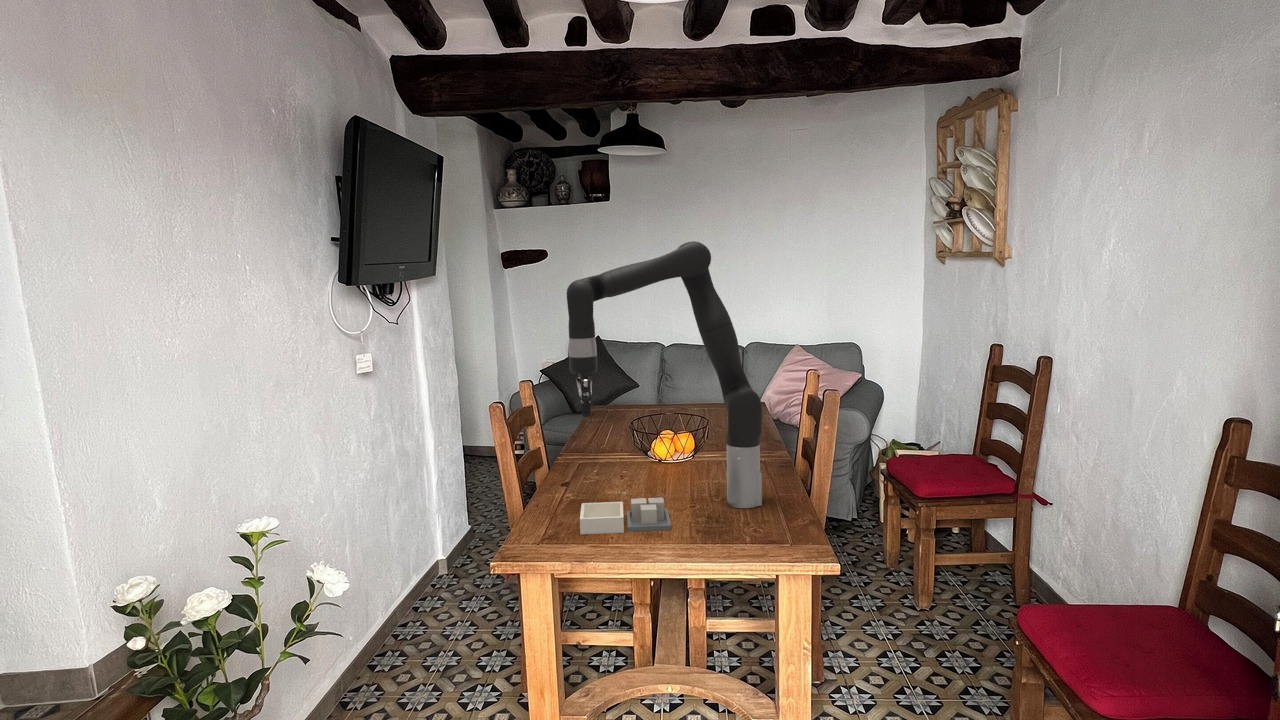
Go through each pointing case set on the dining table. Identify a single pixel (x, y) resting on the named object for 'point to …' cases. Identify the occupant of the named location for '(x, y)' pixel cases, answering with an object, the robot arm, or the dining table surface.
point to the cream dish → (601, 518)
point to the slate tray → (638, 527)
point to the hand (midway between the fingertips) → (585, 413)
